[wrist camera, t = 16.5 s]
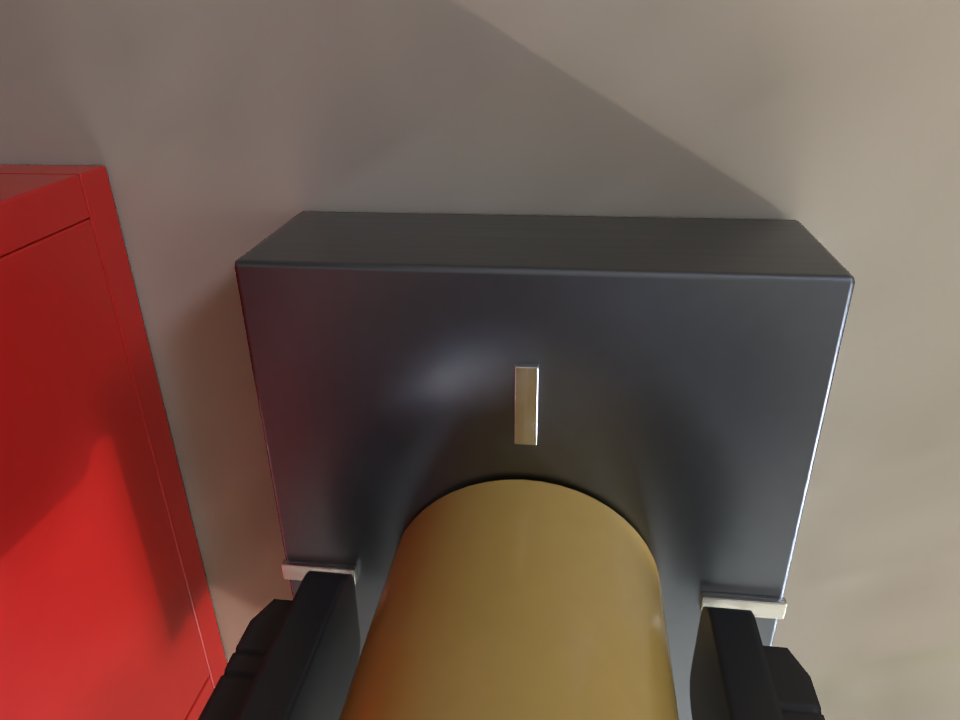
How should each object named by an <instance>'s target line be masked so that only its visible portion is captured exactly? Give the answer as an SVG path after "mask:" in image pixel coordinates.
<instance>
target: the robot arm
mask: <svg viewBox="0 0 960 720" xmlns="http://www.w3.org/2000/svg"><path fill="white" fill-rule="evenodd" d="M359 655H360V628H359V619H358V610H357V600H356V591H355V582H354V578H353V576H352V575H351V574H344V573H333V572H322V571H308V572H307V573H306V575H305V576H304V578H303V580H302V582H301V584H300V586H299V588H298V590H297V592H296V594H295V596H294V598H293V601H290V600H280V599H274V600H273V601H272V602H271V603H270V604H268V605H267V606H266V607H265V608H264V609H263V610H262V611H261V612H260V613H259V614H258V615H256V616H255V617H254V618H253V619H252V620H251V621H250V623H249V625H248V626H247V628H246V630H245V632H244V634H243V636H242V638H241V640H240V641H239V643H238V645H237V647H236V652H235V653H233V655H232V656H231V658H230V660H229V662H228V664H227V666H226V668H225V669H224V675H221V677H220V679H219V681H218V683H217V684H216V686H215V688H214V690H213V692H212V694H211V696H210V698H209V699H208V701H207V703H206V705H205V707H204V709H203V711H202V712H201V714H200V716H199V718H198V720H339V717H340V714H341V711H342V708H343V705H344V702H345V699H346V696H347V693H348V690H349V687H350V684H351V681H352V678H353V676H354V673H355V670H356V667H357V664H358V661H359ZM690 706H691V714H692V720H825V719H824V716H823V715H821V707H820V704H819V701H818V698H817V695H816V692H815V689H814V686H813V683H812V681H811V678H810V676H809V675H808V673H807V672H806V671H805V670H804V668H803V667H802V666H801V665H800V663H799V662H798V661H797V660H796V658H795V657H794V656H793V655H792V653H791V652H790V651H789V650H788V648H782V647H771V646H763V644H762V640H761V637H760V633H759V630H758V626H757V623H756V619H755V616H754V614H753V612H752V611H751V610H741V609H730V608H719V607H707V606H704V607H703V609H702V611H701V616H700V621H699V627H698V632H697V638H696V644H695V649H694V655H693V661H692V666H691V673H690Z"/></svg>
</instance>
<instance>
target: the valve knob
mask: <svg viewBox="0 0 960 720" xmlns="http://www.w3.org/2000/svg"><path fill="white" fill-rule="evenodd" d="M339 720H679V715H678V708H677V701H676V693H675V686H674V679H673V671H672V664H671V657H670V649H669V642H668V635H667V627H666V620H665V613H664V605H663V598H662V591H661V584H660V578H659V572H658V569H657V566H656V563H655V560H654V558H653V556H652V554H651V552H650V550H649V548H648V546H647V545H646V543H645V542H644V541H643V539H642V538H641V537H640V535H639V534H638V533H637V531H636V530H635V529H634V528H633V527H632V526H631V525H630V524H629V523H628V522H627V521H626V520H625V519H624V518H623V517H621V516H620V515H619V514H618V513H616V512H615V511H614V510H612V509H611V508H610V507H608V506H606V505H605V504H603V503H601V502H600V501H598V500H596V499H595V498H593V497H590V496H588V495H586V494H584V493H581V492H579V491H577V490H574V489H571V488H567V487H564V486H561V485H557V484H553V483H548V482H543V481H535V480H524V479H503V480H495V481H487V482H482V483H478V484H474V485H470V486H466V487H464V488H461V489H458V490H456V491H453V492H451V493H449V494H447V495H445V496H443V497H441V498H440V499H438V500H436V501H435V502H434V503H432V504H431V505H429V506H428V507H427V508H425V509H424V510H423V511H422V512H421V513H420V514H419V515H418V516H417V517H415V518H414V519H413V521H412V522H411V523H410V525H409V526H408V527H407V529H406V530H405V531H404V533H403V535H402V537H401V539H400V541H399V543H398V545H397V548H396V551H395V554H394V557H393V560H392V563H391V566H390V569H389V572H388V575H387V578H386V581H385V584H384V587H383V590H382V593H381V595H380V598H379V601H378V604H377V607H376V610H375V613H374V616H373V619H372V622H371V625H370V628H369V631H368V634H367V637H366V640H365V643H364V646H363V649H362V652H361V655H360V658H359V661H358V664H357V667H356V670H355V673H354V676H353V678H352V681H351V684H350V687H349V690H348V693H347V696H346V699H345V702H344V705H343V708H342V711H341V714H340V717H339Z"/></svg>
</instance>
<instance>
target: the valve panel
mask: <svg viewBox="0 0 960 720" xmlns="http://www.w3.org/2000/svg"><path fill="white" fill-rule="evenodd" d="M235 272H236V278H237V283H238V289H239V295H240V300H241V306H242V312H243V317H244V323H245V329H246V334H247V340H248V346H249V351H250V357H251V363H252V368H253V374H254V380H255V385H256V391H257V397H258V402H259V408H260V414H261V419H262V425H263V431H264V437H265V442H266V448H267V454H268V459H269V465H270V471H271V476H272V482H273V488H274V493H275V499H276V505H277V510H278V516H279V522H280V527H281V533H282V539H283V544H284V550H285V556H286V559H284V560H283V562H282V564H281V567H282V572H283V578H284V579H289V580H290V584H291V590H292V595H293V598H294V596H295V594H296V592H297V590H298V588H299V586H300V584H301V582H302V580H303V578H304V576H305V575H306V573H307V572H308V571H322V572H333V573H344V574H351V575H352V576H353V578H354V582H355V591H356V600H357V610H358V619H359V628H360V655H361V652H362V649H363V646H364V643H365V640H366V637H367V634H368V631H369V628H370V625H371V622H372V619H373V616H374V613H375V610H376V607H377V604H378V601H379V598H380V595H381V593H382V590H383V587H384V584H385V581H386V578H387V575H388V572H389V569H390V566H391V563H392V560H393V557H394V554H395V551H396V548H397V545H398V543H399V541H400V539H401V537H402V535H403V533H404V531H405V530H406V529H407V527H408V526H409V525H410V523H411V522H412V521H413V519H414V518H415V517H417V516H418V515H419V514H420V513H421V512H422V511H423V510H424V509H425V508H427V507H428V506H429V505H431V504H432V503H434V502H435V501H436V500H438V499H440V498H441V497H443V496H445V495H447V494H449V493H451V492H453V491H456V490H458V489H461V488H464V487H466V486H470V485H474V484H478V483H482V482H487V481H495V480H503V479H524V480H535V481H543V482H548V483H553V484H557V485H561V486H564V487H567V488H571V489H574V490H577V491H579V492H581V493H584V494H586V495H588V496H590V497H593V498H595V499H596V500H598V501H600V502H601V503H603V504H605V505H606V506H608V507H610V508H611V509H612V510H614V511H615V512H616V513H618V514H619V515H620V516H621V517H623V518H624V519H625V520H626V521H627V522H628V523H629V524H630V525H631V526H632V527H633V528H634V529H635V530H636V531H637V533H638V534H639V535H640V537H641V538H642V539H643V541H644V542H645V543H646V545H647V546H648V548H649V550H650V552H651V554H652V556H653V558H654V560H655V563H656V566H657V569H658V572H659V578H660V584H661V591H662V598H663V605H664V613H665V620H666V627H667V635H668V642H669V649H670V657H671V664H672V671H673V679H674V686H675V693H676V701H677V708H678V715H679V720H692V714H691V706H690V673H691V666H692V661H693V655H694V649H695V644H696V638H697V632H698V627H699V621H700V616H701V611H702V609H703V607H704V606H707V607H719V608H730V609H741V610H751V611H752V612H753V614H754V616H755V619H756V623H757V626H758V630H759V633H760V637H761V640H762V644H763V646H771V647H772V643H773V638H774V634H775V630H776V625H777V621H778V619H784V615H785V611H786V607H787V603H786V600H785V598H783V595H784V590H785V586H786V581H787V577H788V573H789V568H790V564H791V559H792V555H793V551H794V546H795V542H796V538H797V533H798V529H799V524H800V520H801V516H802V511H803V507H804V503H805V498H806V494H807V489H808V485H809V481H810V476H811V472H812V468H813V463H814V459H815V454H816V450H817V446H818V441H819V437H820V433H821V428H822V424H823V419H824V415H825V411H826V406H827V402H828V397H829V393H830V389H831V384H832V380H833V376H834V371H835V367H836V362H837V358H838V354H839V349H840V345H841V341H842V336H843V332H844V327H845V323H846V319H847V314H848V310H849V306H850V301H851V297H852V292H853V288H854V284H855V280H854V277H853V276H852V275H851V274H850V273H849V272H848V271H847V270H846V269H845V268H844V267H843V266H842V265H841V264H840V263H839V262H838V261H837V260H836V259H835V258H834V257H833V256H832V255H831V254H830V253H829V252H828V251H827V249H826V248H825V247H824V246H823V245H822V244H821V243H820V242H819V241H818V240H817V239H816V238H815V237H814V236H813V235H812V234H811V233H810V232H809V231H808V230H807V229H806V228H805V227H804V226H803V225H802V224H801V223H800V222H799V221H796V220H769V219H711V218H653V217H594V216H536V215H478V214H419V213H361V212H301V213H299V214H298V215H296V216H295V217H294V218H292V219H291V220H290V221H288V222H287V223H286V224H284V225H283V226H282V227H280V228H279V229H278V230H276V231H275V232H274V233H272V234H271V235H270V236H268V237H267V238H266V239H264V240H263V241H262V242H260V243H259V244H258V245H256V246H255V247H254V248H252V249H251V250H250V251H249V252H247V253H246V254H245V255H243V256H242V257H241V258H239V259H238V260H237V261H236V262H235ZM360 655H359V658H360Z"/></svg>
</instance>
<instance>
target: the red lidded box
mask: <svg viewBox="0 0 960 720" xmlns="http://www.w3.org/2000/svg"><path fill="white" fill-rule="evenodd" d="M226 666H227V662H226V658H225V654H224V650H223V646H222V642H221V637H220V633H219V629H218V625H217V621H216V617H215V613H214V609H213V605H212V601H211V597H210V592H209V588H208V584H207V580H206V576H205V572H204V568H203V564H202V560H201V556H200V551H199V547H198V543H197V539H196V535H195V531H194V527H193V523H192V519H191V515H190V511H189V506H188V502H187V498H186V494H185V490H184V486H183V482H182V478H181V474H180V470H179V466H178V461H177V457H176V453H175V449H174V445H173V441H172V437H171V433H170V429H169V425H168V420H167V416H166V412H165V408H164V404H163V400H162V396H161V392H160V388H159V384H158V380H157V375H156V371H155V367H154V363H153V359H152V355H151V351H150V347H149V343H148V339H147V334H146V330H145V326H144V322H143V318H142V314H141V310H140V306H139V302H138V298H137V294H136V289H135V285H134V281H133V277H132V273H131V269H130V265H129V261H128V257H127V253H126V248H125V244H124V240H123V236H122V232H121V228H120V224H119V220H118V216H117V212H116V208H115V203H114V199H113V195H112V191H111V187H110V183H109V179H108V175H107V171H106V167H105V166H87V165H0V720H198V718H199V716H200V714H201V712H202V711H203V709H204V707H205V705H206V703H207V701H208V699H209V698H210V696H211V694H212V692H213V690H214V688H215V686H216V684H217V683H218V681H219V679H220V677H221V675H224V669H225V668H226Z"/></svg>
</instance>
